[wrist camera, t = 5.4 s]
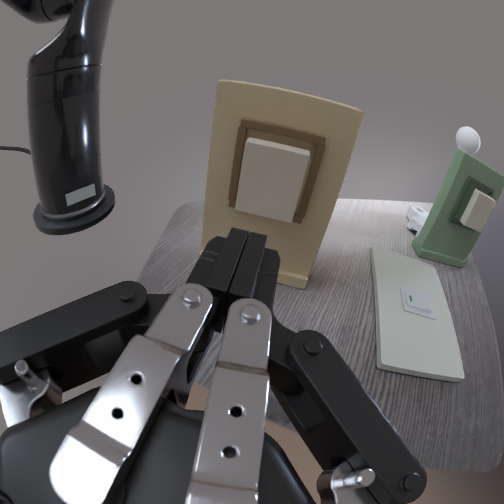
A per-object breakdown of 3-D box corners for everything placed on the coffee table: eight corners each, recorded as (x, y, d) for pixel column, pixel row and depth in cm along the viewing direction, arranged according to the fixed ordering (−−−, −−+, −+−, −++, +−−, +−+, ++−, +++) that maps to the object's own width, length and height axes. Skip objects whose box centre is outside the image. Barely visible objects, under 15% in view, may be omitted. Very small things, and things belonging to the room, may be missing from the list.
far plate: (462, 268, 33) (508, 180, 23) (418, 256, 33) (466, 153, 23) (454, 256, 35) (497, 171, 26) (411, 244, 35) (454, 145, 25)
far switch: (480, 232, 27) (496, 201, 24) (463, 225, 27) (479, 192, 24) (476, 227, 28) (491, 197, 25) (459, 220, 28) (475, 188, 25)
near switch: (291, 223, 19) (309, 155, 16) (234, 210, 19) (245, 141, 16) (292, 215, 20) (309, 150, 17) (238, 202, 20) (249, 137, 17)
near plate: (304, 289, 25) (365, 113, 15) (198, 263, 25) (215, 80, 15) (305, 268, 27) (357, 108, 17) (208, 244, 28) (228, 79, 18)
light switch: (467, 376, 17) (382, 361, 18) (460, 382, 17) (375, 368, 19) (436, 263, 30) (372, 241, 31) (432, 270, 31) (369, 248, 32)
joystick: (425, 245, 36) (476, 128, 24) (392, 217, 41) (433, 106, 28) (447, 234, 41) (489, 140, 29) (419, 212, 46) (454, 121, 34)
